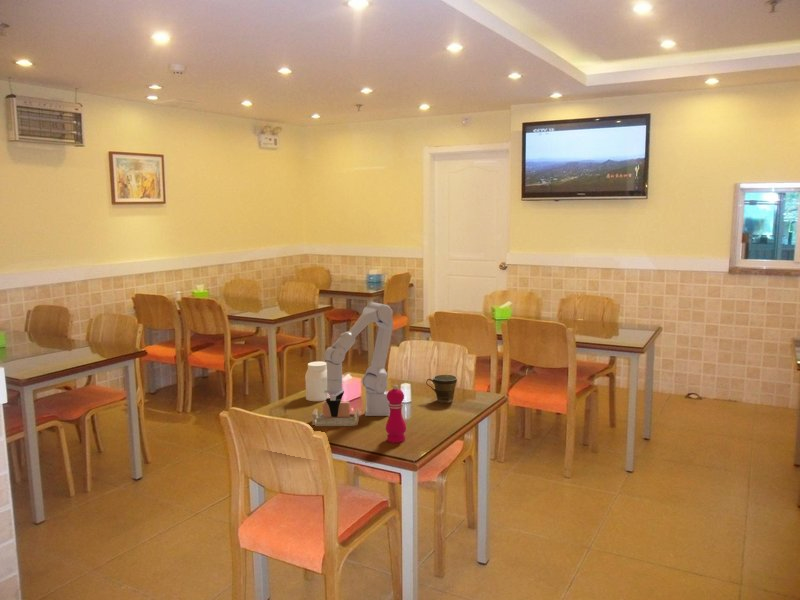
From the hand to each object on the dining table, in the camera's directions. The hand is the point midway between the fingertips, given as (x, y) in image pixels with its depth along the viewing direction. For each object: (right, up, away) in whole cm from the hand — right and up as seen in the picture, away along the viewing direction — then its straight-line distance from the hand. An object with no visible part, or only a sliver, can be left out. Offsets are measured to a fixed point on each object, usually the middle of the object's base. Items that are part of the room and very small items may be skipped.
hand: (335, 413), depth 248 cm
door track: (0, -4, +1) cm, 4 cm away
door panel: (0, -3, 0) cm, 3 cm away
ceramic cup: (+42, +1, +26) cm, 50 cm away
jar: (-11, +1, +33) cm, 35 cm away
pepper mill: (+23, -6, -19) cm, 30 cm away
